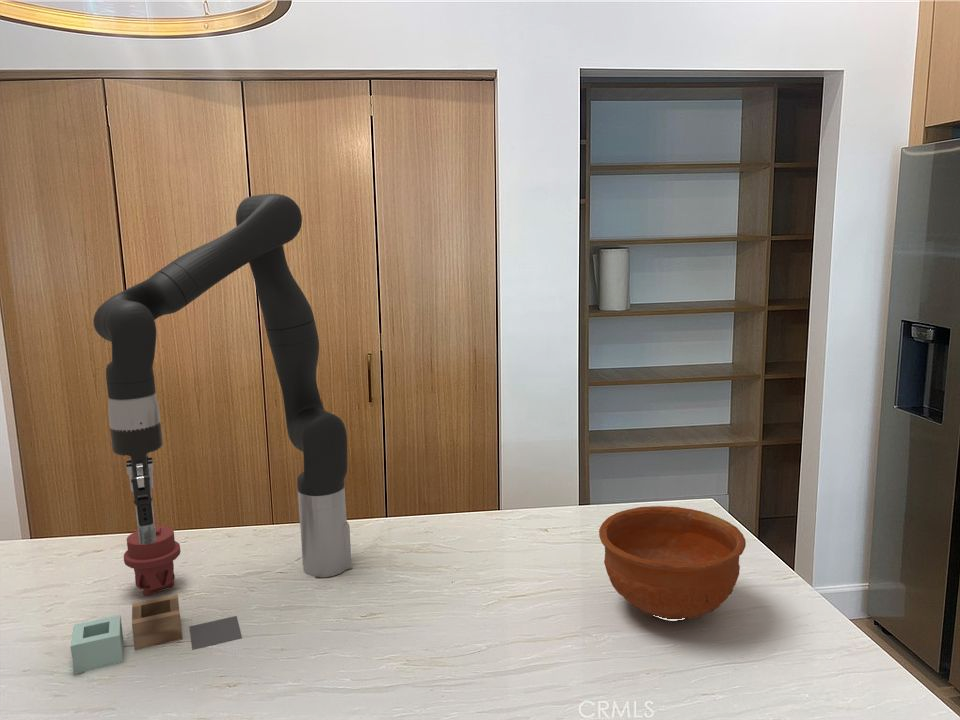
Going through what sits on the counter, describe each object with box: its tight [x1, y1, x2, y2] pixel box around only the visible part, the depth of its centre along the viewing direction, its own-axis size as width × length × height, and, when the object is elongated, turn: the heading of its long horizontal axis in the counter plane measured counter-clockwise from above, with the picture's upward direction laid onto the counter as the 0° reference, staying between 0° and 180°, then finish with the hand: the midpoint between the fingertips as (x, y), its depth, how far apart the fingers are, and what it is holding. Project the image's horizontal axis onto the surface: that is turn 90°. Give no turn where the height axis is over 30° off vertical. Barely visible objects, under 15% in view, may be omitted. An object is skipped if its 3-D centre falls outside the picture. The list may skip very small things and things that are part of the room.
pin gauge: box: [135, 481, 156, 544], centre depth 124 cm, size 3×3×11 cm
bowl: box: [598, 505, 747, 620], centre depth 132 cm, size 25×25×15 cm
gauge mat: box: [188, 615, 243, 651], centre depth 129 cm, size 8×8×1 cm
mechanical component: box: [123, 525, 182, 597], centre depth 144 cm, size 12×10×10 cm
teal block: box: [69, 614, 125, 675], centre depth 122 cm, size 7×7×5 cm
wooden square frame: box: [131, 593, 183, 651], centre depth 128 cm, size 7×7×5 cm
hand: (146, 520), depth 125 cm, fingers closed on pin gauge, 2 cm apart
